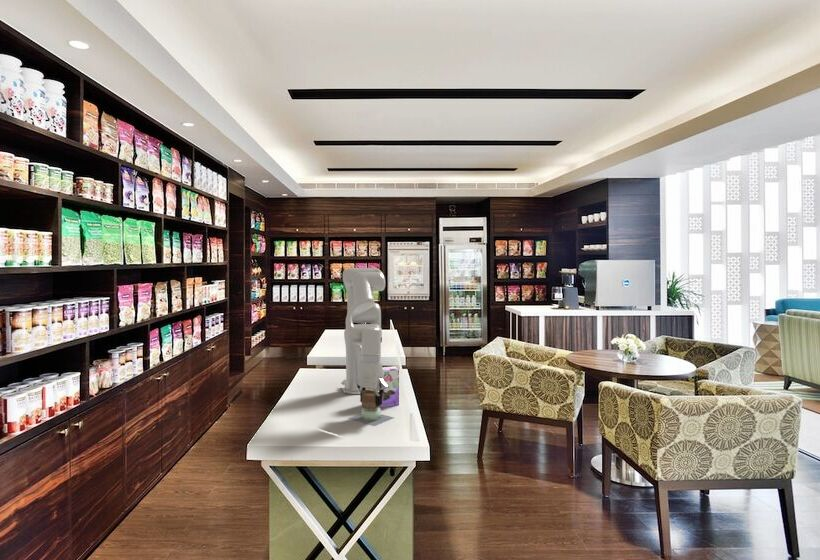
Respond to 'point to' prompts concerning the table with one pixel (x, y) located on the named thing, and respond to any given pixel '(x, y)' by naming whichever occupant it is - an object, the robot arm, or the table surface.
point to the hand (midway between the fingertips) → (371, 403)
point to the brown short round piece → (369, 399)
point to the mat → (373, 423)
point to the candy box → (391, 386)
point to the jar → (371, 414)
